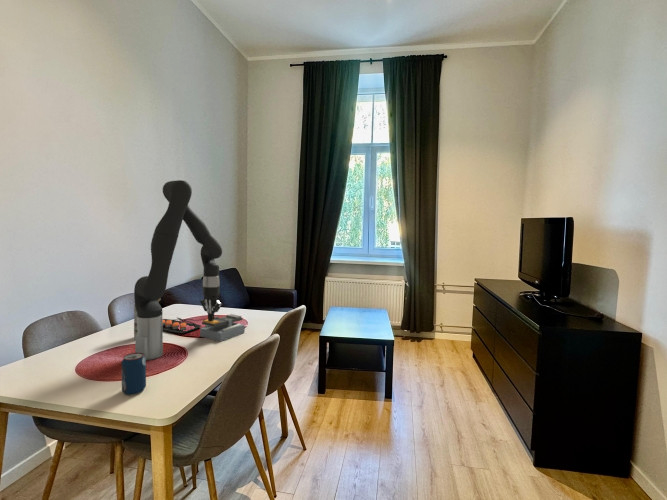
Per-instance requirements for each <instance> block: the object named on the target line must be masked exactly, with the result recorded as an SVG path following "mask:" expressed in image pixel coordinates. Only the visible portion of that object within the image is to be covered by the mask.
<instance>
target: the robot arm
mask: <svg viewBox="0 0 667 500" xmlns="http://www.w3.org/2000/svg"><path fill="white" fill-rule="evenodd" d="M192 191H193V190H192V186H191V184H190V183H189V182H188V181H186V180H180V179H178V180H170V181H167V182H165V183H164V184H163V186H162V194H163V196H164V198H165V199H166V201H167V202H168V206H167V209H166V211H165V213H164V214H163V216H162V218H161V219H160V220H159V221H158V223H157V224H156V226H155V229H154V231H153V234H152V238H151V243H150V253H151V266H150V269H149V272H148V275H144V276H142V277H139V278H138V280H137V281H136V282H135V284H134V291H133V293H134V294H133V297H134V305H135V309H136V311H137V335H135V337H134V345H135V346H134V348H135V349H134V350H135V352H134V353H143V354H144V357H145V359H146V361H148V360H154V359H155V360H156V359H158V358H161V357H162V356H163V355H164V350H163V349H164V345H163V343H164V342H163V341H164V339H163V338H164V335H163V332H164V330H163V319H164V318H163V308H162V306H161V304H160V302H159V300H160V299H161V298H162V297H163V296H164V294H165V293H166V290H167V284H168V279H169V278H168V277H169V273H170V272H169V271H170V267H171V263H172V259H173V256H174V253H175V252H174V251H175V248H176V246H177V242H178V238H179V235H180V230H181V227H182V223H183V221H184V223H185V224H186V226H187V227H188V229H189V231H190V233H191V235H192V236H193V237H194V240H195V241H196V242H197V243H198V244H200V245H202V246H201V248H200V258H201V262H202V266H203V279H202V295H203V299H201V300H199V302H200V304H201V307H202V308H203V311H204V312H206V314H207V319H208V321H213V320H214V317H215V313H218V312H219V311H220V309H221V307H222V306H223V303H222V302H220V298H219V295H220V285H221V284H220V265H219V264H218V263H217V262H216V259H220V258H221V256H222V254H223V249H222V246H221V244H220V242H218V240H216V238H215V236H213V235H212V233H211V232H210V231H209V229H208V227H207V225H206V223H205V222H204V221H203V219H202V218H201V217H200V216H199V215H198V214H197V213H196V212H195V211H194V210H193V209H192V208H191V207H190V204H189V203H190V201H191V197H192V194H193V192H192Z"/></svg>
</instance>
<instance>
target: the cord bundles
mask: <svg viewBox="0 0 667 500" xmlns="http://www.w3.org/2000/svg"><path fill="white" fill-rule="evenodd" d="M238 326H241V323H237V325H234V326H231V327H228V328H225V329H222V331H223V332H224V331H227V330H230V329H232V328H235V327H238ZM204 327H209V326H208V325H204Z"/></svg>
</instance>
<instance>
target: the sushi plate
mask: <svg viewBox="0 0 667 500" xmlns="http://www.w3.org/2000/svg"><path fill="white" fill-rule="evenodd" d="M176 318H177V319H171V318H170V319H169V318H162V319H163V332H164V331H165V332H169V333H175V334H186V333H189V332H192V331H194V330H197V329H200V328H202V325H201V324H196V323H195V322H192V321H194V320H193V319H194V318H192V319H191V318H187V319H186V318H185V319H183V318H180V317H176ZM183 320H184V321H183ZM186 321H187V322H186ZM179 324H180V330H179V329H178V327H179ZM186 325H189V326H194V327H195V328H194V329H191V330H188V331H183V330H186Z"/></svg>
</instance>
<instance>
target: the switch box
mask: <svg viewBox="0 0 667 500" xmlns="http://www.w3.org/2000/svg"><path fill="white" fill-rule="evenodd" d="M216 318H219V316H214V319H216ZM237 324H238V323H237V322H232V320H231V319H230V320H228V324H224V325H220V326H216V327H212V326H209V327H205V326H204V327H200V328H199V329H200V330H199V336H200V337H202V338H205V339H210V340H213V341H217V342H224V341H226V340H228V339H231V338H235V337H236V336H240V335H242V334H244V333H245V330H246V329H245V328H246V327H245V326H246V325H245V324H241V323H240V324H241V326H238V327H235V328H232V329H230V330H227V331H224V332H223V331H222V329H225V328H228V327H231V326H234V325H237Z"/></svg>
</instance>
